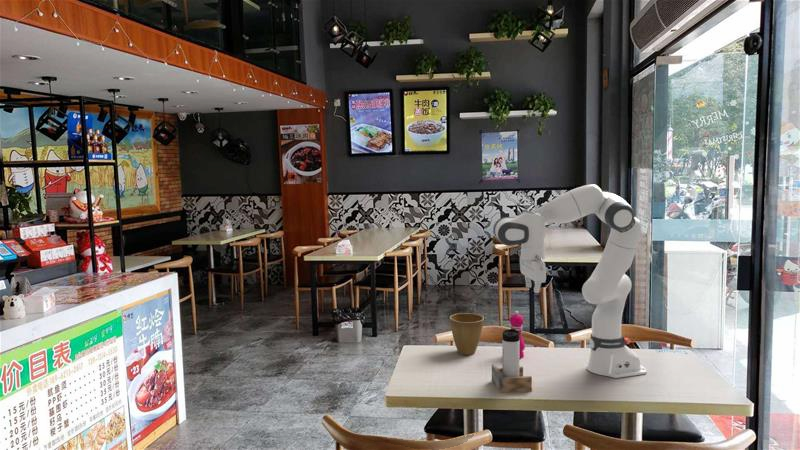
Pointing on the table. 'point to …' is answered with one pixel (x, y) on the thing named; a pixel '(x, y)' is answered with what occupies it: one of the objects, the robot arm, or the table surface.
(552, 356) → the table surface
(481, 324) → the plant pot
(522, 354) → the pepper mill
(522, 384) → the cradle
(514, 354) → the travel mug
